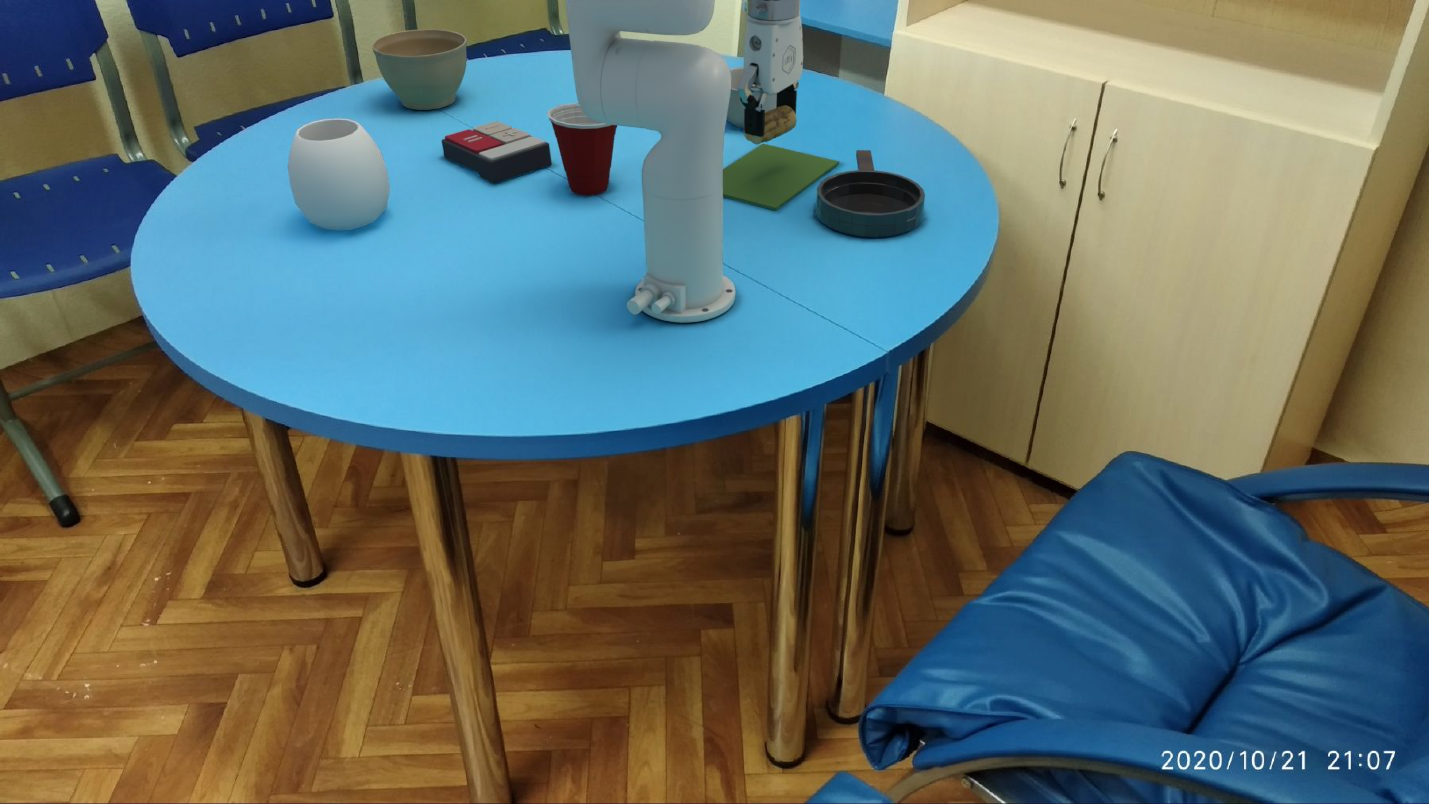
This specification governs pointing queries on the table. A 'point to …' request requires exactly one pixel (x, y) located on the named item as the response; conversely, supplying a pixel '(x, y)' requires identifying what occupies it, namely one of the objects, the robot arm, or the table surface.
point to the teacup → (735, 105)
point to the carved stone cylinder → (775, 124)
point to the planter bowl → (422, 66)
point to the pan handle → (864, 160)
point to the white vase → (337, 174)
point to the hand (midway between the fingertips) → (770, 124)
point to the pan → (869, 203)
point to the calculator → (497, 151)
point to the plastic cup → (583, 148)
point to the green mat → (772, 176)
